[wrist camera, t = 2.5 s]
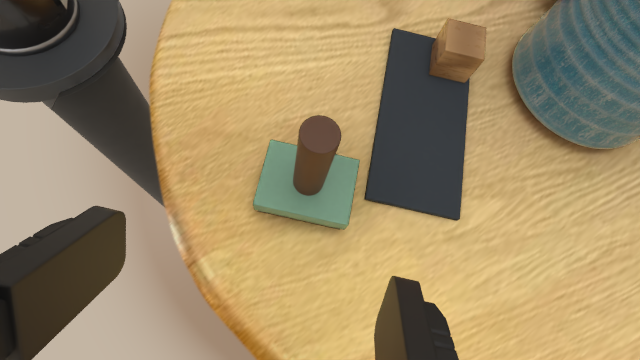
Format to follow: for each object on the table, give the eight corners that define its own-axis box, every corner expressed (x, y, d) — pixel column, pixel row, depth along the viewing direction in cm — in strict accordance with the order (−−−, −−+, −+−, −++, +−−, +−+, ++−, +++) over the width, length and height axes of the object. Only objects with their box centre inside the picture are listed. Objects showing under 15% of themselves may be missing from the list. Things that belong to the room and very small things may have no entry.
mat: (364, 199, 34) (365, 197, 33) (392, 31, 41) (393, 27, 40) (456, 220, 34) (459, 219, 34) (469, 50, 41) (471, 47, 40)
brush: (254, 212, 32) (242, 163, 21) (271, 152, 34) (268, 78, 23) (342, 232, 33) (376, 194, 21) (353, 171, 35) (390, 107, 23)
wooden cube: (428, 74, 39) (445, 49, 35) (432, 44, 40) (448, 17, 36) (464, 83, 39) (485, 59, 35) (466, 53, 40) (486, 27, 36)
